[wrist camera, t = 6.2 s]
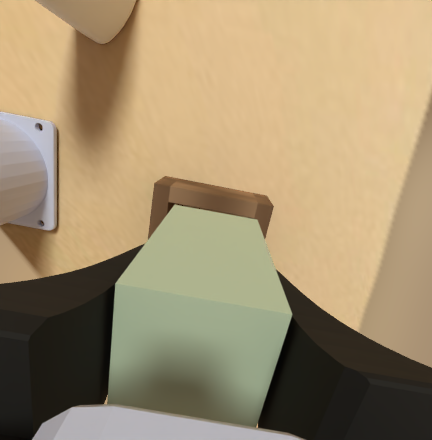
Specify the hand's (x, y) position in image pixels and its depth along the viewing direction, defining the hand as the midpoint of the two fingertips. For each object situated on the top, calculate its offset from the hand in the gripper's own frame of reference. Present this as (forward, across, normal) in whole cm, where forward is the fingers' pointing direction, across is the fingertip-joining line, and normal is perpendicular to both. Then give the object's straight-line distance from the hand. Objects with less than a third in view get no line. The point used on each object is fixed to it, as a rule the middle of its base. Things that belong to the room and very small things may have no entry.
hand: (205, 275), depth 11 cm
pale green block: (+2, 0, 0) cm, 2 cm away
